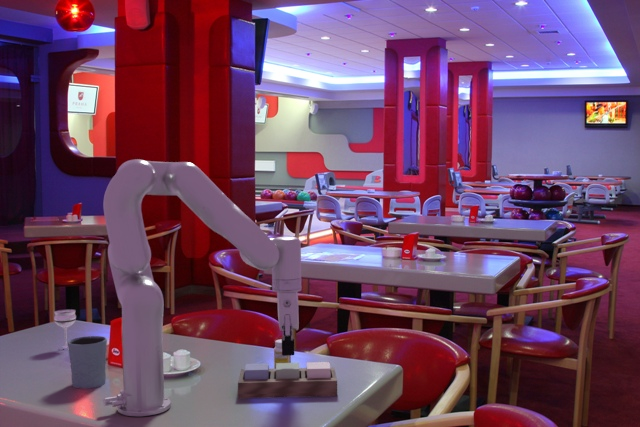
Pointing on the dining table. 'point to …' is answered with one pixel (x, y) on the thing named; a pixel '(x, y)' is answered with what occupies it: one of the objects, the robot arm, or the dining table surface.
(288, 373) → the sage key
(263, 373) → the slate key
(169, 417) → the dining table surface
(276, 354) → the supplement bottle
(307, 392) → the console
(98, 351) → the grey blue cup
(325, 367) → the cream key
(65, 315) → the wineglass
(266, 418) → the dining table surface
